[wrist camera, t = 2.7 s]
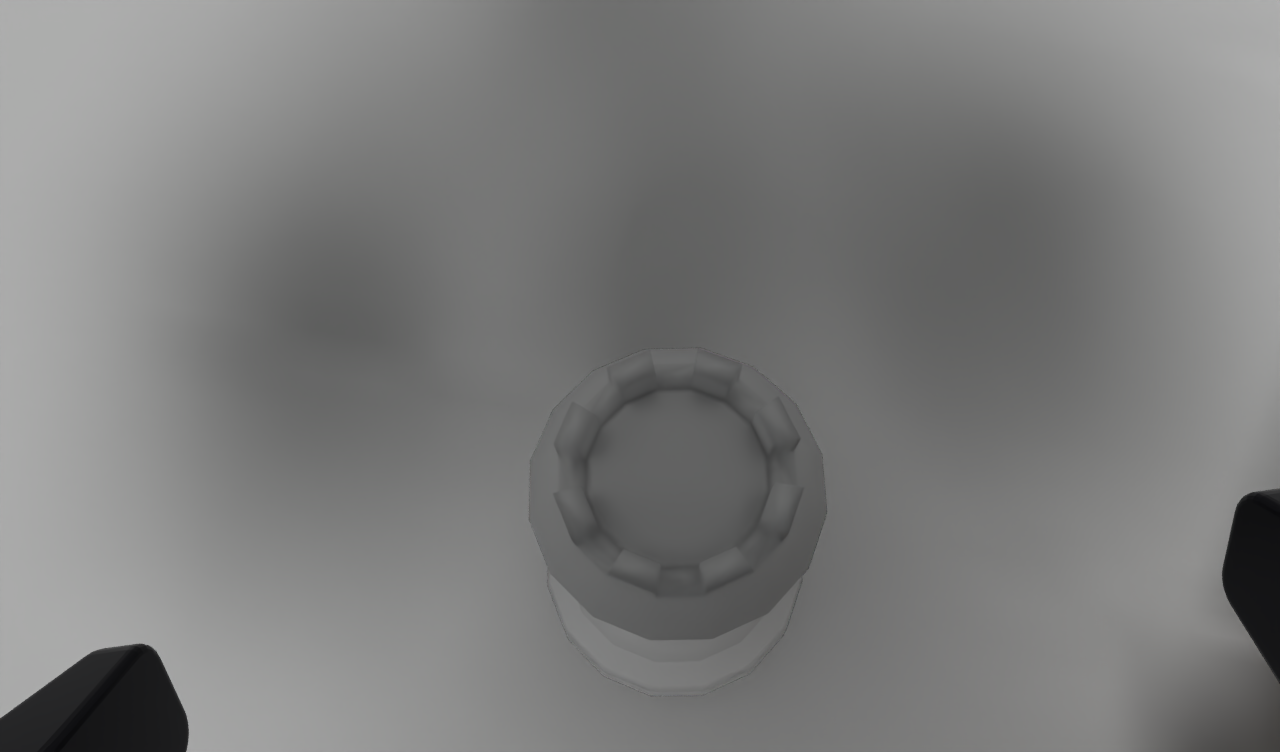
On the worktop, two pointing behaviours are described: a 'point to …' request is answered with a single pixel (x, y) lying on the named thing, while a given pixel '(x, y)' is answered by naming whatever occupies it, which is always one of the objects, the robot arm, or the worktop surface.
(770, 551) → the rook chess piece
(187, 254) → the worktop surface
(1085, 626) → the worktop surface
